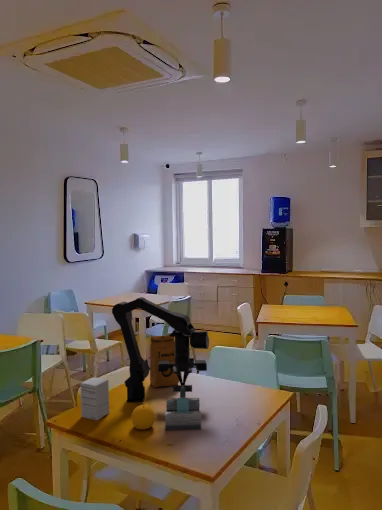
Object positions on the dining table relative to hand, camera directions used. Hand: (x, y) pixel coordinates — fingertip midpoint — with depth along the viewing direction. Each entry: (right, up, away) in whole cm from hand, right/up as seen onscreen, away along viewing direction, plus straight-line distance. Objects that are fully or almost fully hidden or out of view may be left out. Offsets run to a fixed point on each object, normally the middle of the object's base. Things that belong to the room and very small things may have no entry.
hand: (182, 387), depth 167 cm
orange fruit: (-13, -7, -21) cm, 26 cm away
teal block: (0, -5, -17) cm, 18 cm away
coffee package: (-8, -6, +22) cm, 24 cm away
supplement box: (-32, -7, -11) cm, 34 cm away
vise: (0, -6, -15) cm, 16 cm away
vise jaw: (0, -5, -8) cm, 9 cm away
